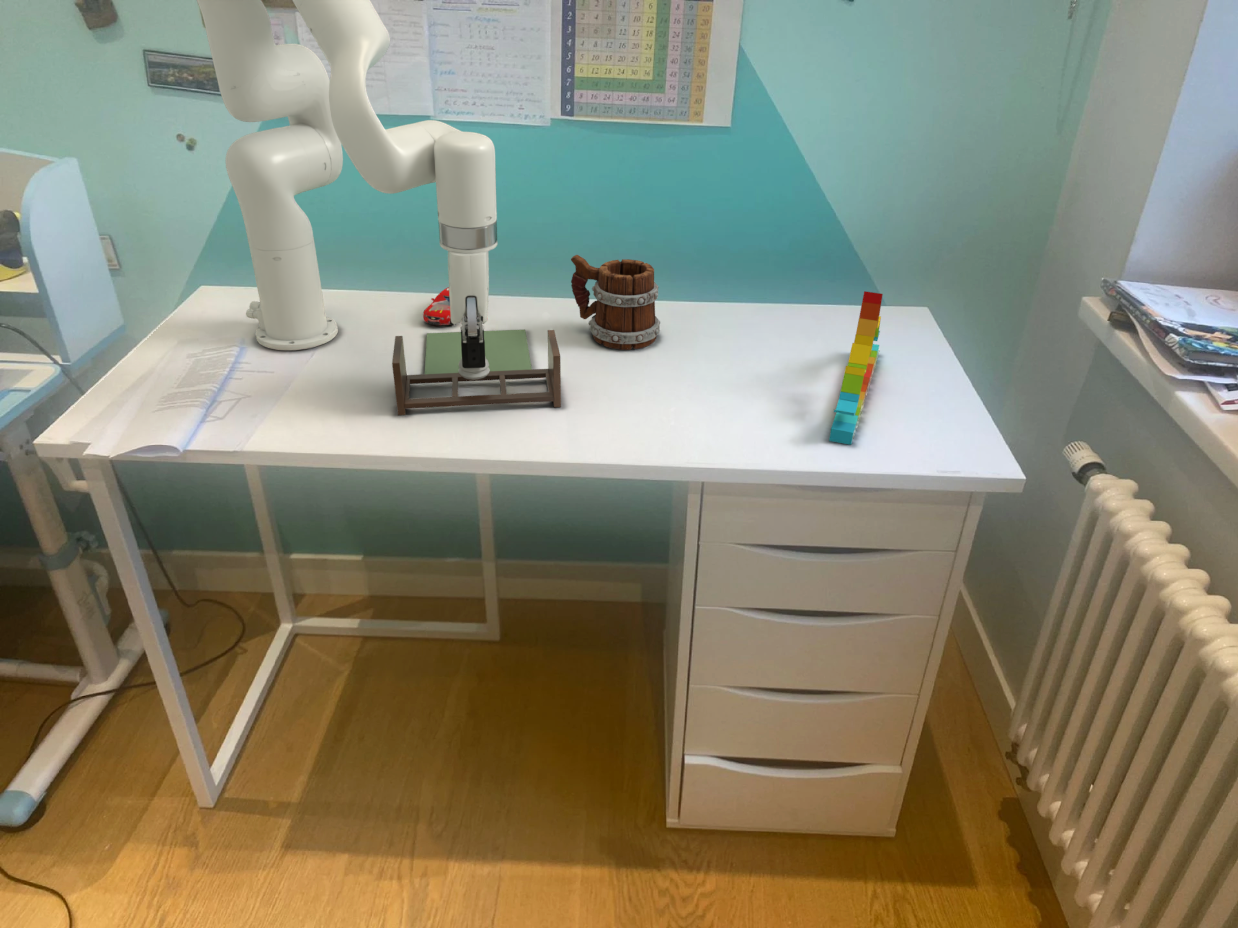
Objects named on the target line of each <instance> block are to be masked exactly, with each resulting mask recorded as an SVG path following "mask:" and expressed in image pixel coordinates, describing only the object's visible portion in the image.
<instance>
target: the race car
mask: <svg viewBox="0 0 1238 928" xmlns="http://www.w3.org/2000/svg"><path fill="white" fill-rule="evenodd" d="M430 300H431V303H430V304H429V305H427V307H426V308H425V309H424V311H423V314H422V317H423V321H424V322H425V323H426V324H429V325H434V326H454V324H453V323H452V322H451V312H450V295H449V286H448V287H446V288H444V289H443V290H442V291H440V292H439V293H438V294H437V295H436V296H435V298H432V297H431V298H430Z"/></svg>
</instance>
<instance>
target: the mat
mask: <svg viewBox="0 0 1238 928" xmlns="http://www.w3.org/2000/svg"><path fill="white" fill-rule="evenodd" d="M484 340H485V356H486V359H487V360H488V363H489V366H488V367H489V369H490V371H508V370H530V369H533V367H532V361H531V357H530V356H531V355H530V350H529V344H528V338H527V332H526V329H503V330H502V329H501V330H484ZM461 357H462V351H461V331H451V332H449V331H448V332H447V331H446V332H427V333H426V344H425V359H424V360H425V362H424V374H441V373H459V371H458V370H459V365H458V364H459V361H460V360H461Z"/></svg>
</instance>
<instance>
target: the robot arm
mask: <svg viewBox="0 0 1238 928" xmlns="http://www.w3.org/2000/svg"><path fill="white" fill-rule="evenodd" d="M291 1H292V2H293V4H294V6H295V7H296V9H297V11H298V13H299V15H300V16H301V18H302V19H303V21H304V23H305V25H306V26H307V28H308V30H309V32H310V33H311V35H312V37H313V39H314V40H315V42H316V43H317V45H318V47H319V49H320V51H321V52H322V54H323V56H324V57H325V59H326V61H327V62H328V64H329V67H330V75H329V74H328V72H327V69H326V67H325V64H324V63H323V62H322V60H321V59H320V57H319V56H318V55H317V54H316V53H315V52H314V51H313V50H311V49H310V48H309V47H307V46H305V45H302V44H299V43H282V44H276V42H275V37H274V33H273V28H272V22H271V18H270V15H269V12H268V10H267V7H266V6H265V4H264V2H263V0H196V2H197V5H198V8H199V10H200V12H201V16H202V19H203V23H204V27H205V32H206V37H207V41H208V47H209V50H210V54H211V58H212V63H213V67H214V71H215V76H216V80H217V85H218V88H219V89H218V90H219V92H220V95H221V98H222V102H223V104H224V106H225V109H226V111H228V113H229V114H230V115H231V116H232V117H233V118H234V119H235V120H237V121H240V122H244V123H260V122H266V121H272V120H277V119H282V118H287V119H288V123H289V125H286V126H280V127H274V128H273V127H272V128H270V129H264V130H259V131H255V132H251V133H248V134H245V135H243V136H241V137H238V138H237V139H236V140H235V141H233V142H232V143H231V145H230V146H229V147H228V149H227V151H226V154H225V168H226V173H227V176H228V179H229V182H230V184H231V186H232V189H233V192H234V193H235V196H236V199H237V202H238V205H239V208H240V211H241V215H242V220H243V222H244V229H245V232H246V238H247V243H248V248H249V252H250V256H251V263H252V268H253V273H254V279H255V284H256V289H257V295H258V299H259V301H256V300H253V301H250V303H249V308H247V310H246V311H245V316H246V318H249V319H253V320H257V321H258V327H257V328H256V330H255V338H256V341H257V343H258V344H259V345H261V346H262V347H265V348H268V349H271V350H277V351H300V350H307V349H312V348H317V347H319V346H321V345H324V344H326V343H328V342H330V341H332V340H333V339H334V338H335V337H336V336H337V335H338V332H339V328H338V323H337V322H336V320H335V319H333V318H331V317H329V316H327V315H326V308H325V302H324V296H323V287H322V281H321V275H320V269H319V262H318V257H317V249H316V243H315V242H316V241H315V238H314V231H313V226H312V224H311V221H310V218H309V217H308V215H307V213H306V212H305V211H304V210H303V209H302V208H301V206H300V205H299V204H298V203H297V201H296V199H295V196H297V195H299V194H302V193H306V192H309V191H312V190H316V189H320V188H323V187H325V186H329V185H331V184H332V183H334V182H336V180H338V178H339V177H340V176H341V173H342V170H343V165H344V154H343V153H344V152H343V149H344V151H345V153H346V155H347V156H348V158H349V159H350V161H351V163H352V164H353V165H354V167H355V169H356V171H357V172H358V173H359V175H360V176H361V177H362V179H363V180H364V181H365V182H366V183H367V184H368V185H369V186H370V187H371V188H372V189H374V190H376V191H378V192H380V193H383V194H387V195H388V194H390V195H391V194H393V195H394V194H398V193H402V192H405V191H409V190H413V189H415V188H419V187H421V186H424V185H428V184H433V183H435V189H436V192H435V193H436V208H437V221H438V222H437V223H438V237H439V238H438V239H439V246H440V248H442V249H443V250H445V251H447V274H448V275H447V276H448V277H447V279H448V287H449V295H450V312H451V322H452V323H453V324H454V325H455V326H456V325H457V324H461V326H462V330H461V329H460V332H461V351H462V367H463V368H484V367H485V366H486V363H485V340H484V331H485V328H484V329H483V328H482V325H485V324H486V323H487V322H488V315H489V301H490V300H489V297H490V270H489V269H490V259H489V258H490V257H489V256H490V255H489V252H490V251H492V250H494V249H495V248H496V247H498V211H497V209H498V208H497V175H496V173H497V171H496V170H497V169H496V148H495V144H494V142H493V140H492V139H491V138H490V137H488V136H487V135H485V134H482V133H479V132H473V131H462V130H460V129H458V128H456V127H454V126H452V125H450V124H448V123H445V122H443V121H439V120H436V119H435V120H434V119H428V120H427V119H426V120H421V121H417V122H413V123H408V124H402V125H399V126H394V127H390V128H385V127H384V126H383V123H382V122H381V120H380V118H379V117H378V115H377V114H376V112H375V110H374V108H373V105H372V103H371V101H370V98H369V96H368V90H367V74H368V71H369V70H371V69H372V68H373V67H374V66H375V65H376V64H377V63H378V62H380V60H381V59H382V58H383V57H384V56H385V55H386V53H387V52H388V50H389V48H390V44H391V36H390V32H389V30H388V29H387V27H386V26H385V24H384V22H383V20H382V18H381V17H380V15H379V13H378V11H377V10H376V8H375V6H374V4H373V3H372V1H371V0H291ZM329 76H330V77H329ZM454 325H453V326H454ZM478 325H479V329H477V326H478ZM466 326H468V329H466ZM466 337H467V338H466Z"/></svg>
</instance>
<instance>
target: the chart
mask: <svg viewBox="0 0 1238 928" xmlns="http://www.w3.org/2000/svg"><path fill="white" fill-rule="evenodd" d="M882 302H883V293H878V292H873V291H864V292H863V295H862V301H861V307H860V310H859V317H858V320H857V321H858V322H857V326H856V332H855V336H854V340H853V342H852V343H851V347H850V352H849V355H848V356H849V357H848V361H847V365H845V368H844V373H843V376H842V377H843V378H842V382H841V387H840V391H839V396H838V397H839V398H838V401H837V405H836V406H835V409H833V413H835V416H834V418H833V422H832V424H831V427H830V432H829V436H828V437H829V438H828V442H833V443H838V444H843V445H848V446H852V443H853V440H854V439H855V436H856V432H857V431H858V428H859V427H858V426H859V423H860V420H861V417H862V414H863V410H864V406H865V403H866V399H867V396H868V393H869V389H870V386H871V383H872V379H873V376H874V373H875V369H876V366H877V362H878V358H879V356H880V352H881V350H880V344H877V343H876V344H875V343H874V342H878V340H879V337H880V333H881V330H880V328H881V327H880V326H881V320H882V316H880V315H881V313H880V312H881V308H882Z"/></svg>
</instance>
